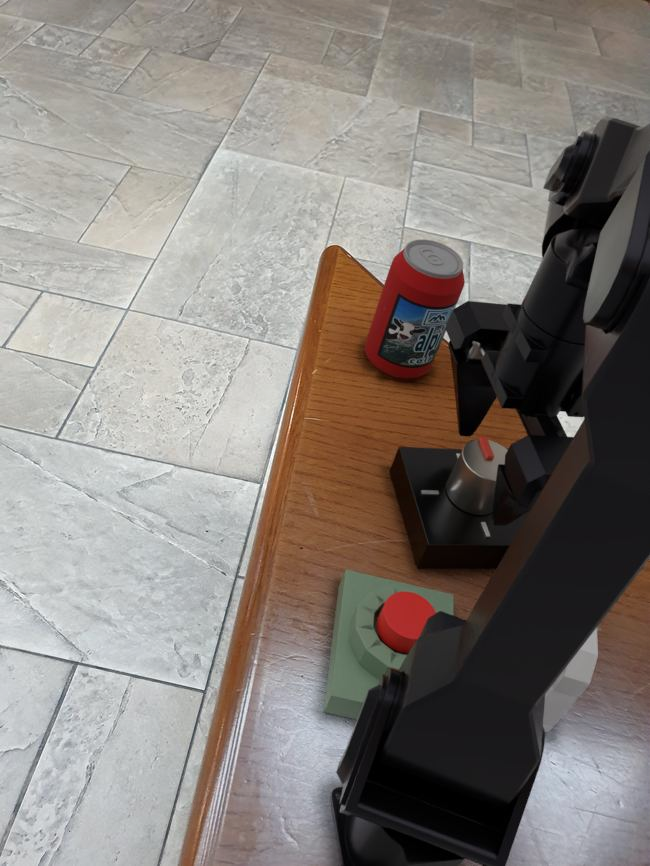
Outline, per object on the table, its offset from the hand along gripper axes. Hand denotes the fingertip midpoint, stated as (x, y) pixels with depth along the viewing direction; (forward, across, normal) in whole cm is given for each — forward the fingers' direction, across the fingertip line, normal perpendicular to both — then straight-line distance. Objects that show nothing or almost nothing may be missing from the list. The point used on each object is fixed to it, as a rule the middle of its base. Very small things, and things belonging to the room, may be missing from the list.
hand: (481, 477), depth 66 cm
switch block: (+5, -12, +9) cm, 16 cm away
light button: (+2, -12, +9) cm, 15 cm away
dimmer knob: (+2, 0, 0) cm, 2 cm away
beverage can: (+5, +20, +1) cm, 20 cm away
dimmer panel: (+5, 0, 0) cm, 5 cm away
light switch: (+5, -12, -2) cm, 14 cm away
